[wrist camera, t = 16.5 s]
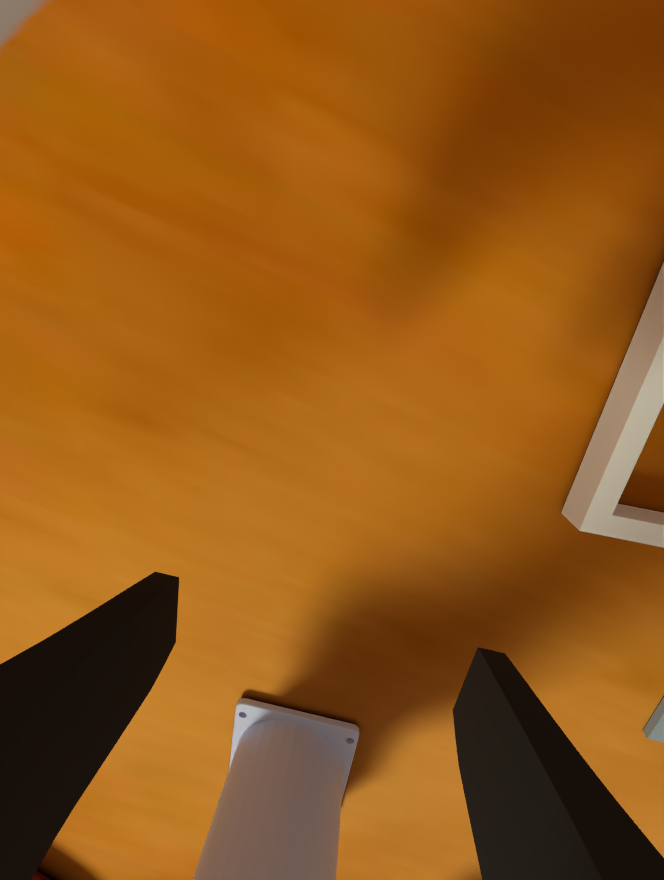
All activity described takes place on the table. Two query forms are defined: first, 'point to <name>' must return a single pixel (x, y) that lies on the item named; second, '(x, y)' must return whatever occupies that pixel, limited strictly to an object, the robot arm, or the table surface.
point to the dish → (40, 876)
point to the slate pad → (656, 724)
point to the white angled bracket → (624, 438)
